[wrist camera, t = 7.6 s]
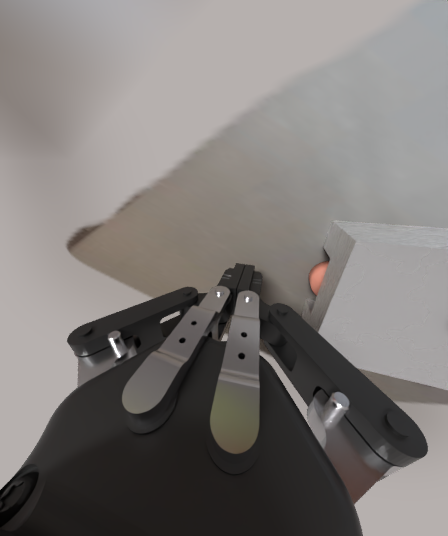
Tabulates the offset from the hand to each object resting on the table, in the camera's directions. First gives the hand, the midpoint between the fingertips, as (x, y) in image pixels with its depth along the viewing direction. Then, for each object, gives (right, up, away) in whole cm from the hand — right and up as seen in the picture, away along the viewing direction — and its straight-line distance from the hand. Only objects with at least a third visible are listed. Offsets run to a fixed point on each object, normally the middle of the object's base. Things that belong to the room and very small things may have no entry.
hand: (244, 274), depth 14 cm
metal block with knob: (+11, -1, -1) cm, 11 cm away
